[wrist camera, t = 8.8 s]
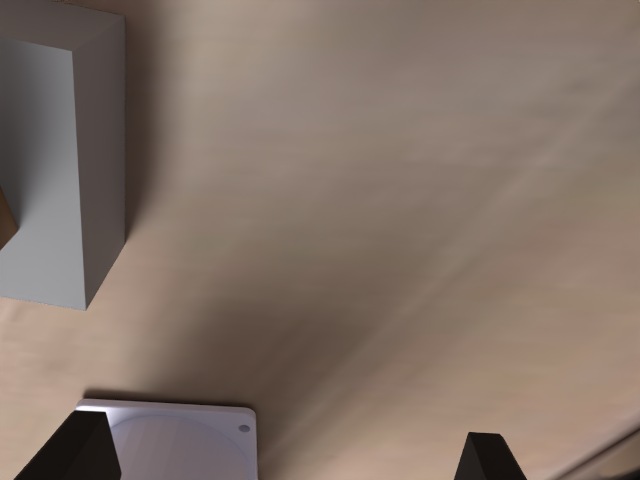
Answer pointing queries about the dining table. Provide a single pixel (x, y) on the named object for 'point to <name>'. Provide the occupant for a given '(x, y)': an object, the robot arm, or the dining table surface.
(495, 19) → the dining table surface
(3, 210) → the walnut block
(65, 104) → the slate base block
